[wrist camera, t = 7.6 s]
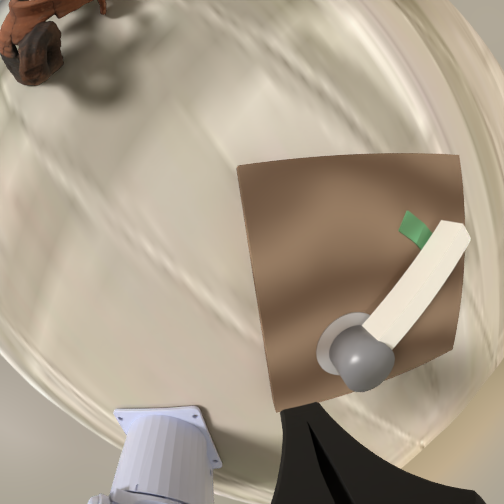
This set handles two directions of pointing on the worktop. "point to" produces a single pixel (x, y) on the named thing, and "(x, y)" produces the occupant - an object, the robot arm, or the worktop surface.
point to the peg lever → (397, 311)
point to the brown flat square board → (344, 258)
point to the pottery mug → (35, 37)
